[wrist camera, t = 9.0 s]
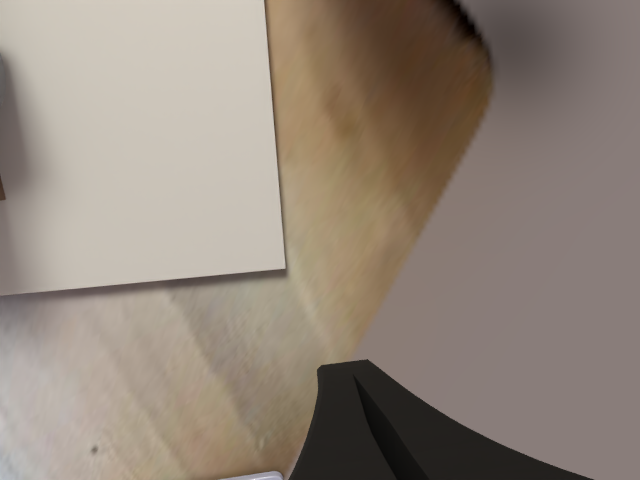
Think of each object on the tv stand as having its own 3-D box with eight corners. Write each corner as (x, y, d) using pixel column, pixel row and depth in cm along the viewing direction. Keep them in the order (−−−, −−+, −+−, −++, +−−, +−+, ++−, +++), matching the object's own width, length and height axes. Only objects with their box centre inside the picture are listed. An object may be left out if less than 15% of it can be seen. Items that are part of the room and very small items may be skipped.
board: (284, 264, 19) (285, 268, 19) (-118, 302, 17) (-131, 308, 17) (252, -133, 16) (252, -144, 15) (-259, -145, 14) (-282, -159, 13)
